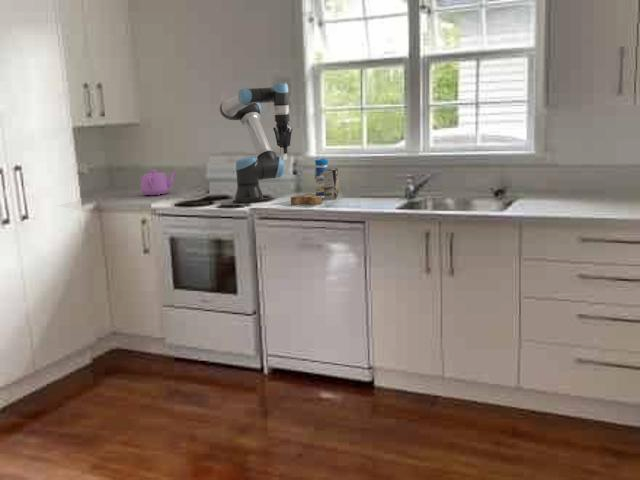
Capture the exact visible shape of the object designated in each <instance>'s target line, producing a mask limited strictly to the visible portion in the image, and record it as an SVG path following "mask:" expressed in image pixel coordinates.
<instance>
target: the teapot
mask: <svg viewBox="0 0 640 480" xmlns="http://www.w3.org/2000/svg"><path fill="white" fill-rule="evenodd" d="M176 172H178V170H174V171H171V173H170V176H169V179H168V177H167V174H166V173H165V172H161V171H160V172H157V169H151V170H150V172H149V173H148V172H147V173H144V174H143V176H142V179H141V183H140V192H141V193H142V195H144V196H147V195H151V196H154V195H156V196H160V195H159V194H162V195H163V194H164V195H165V194H168V193H169V192H170V189H171V187H172V186H173V183H174V177H175V173H176Z"/></svg>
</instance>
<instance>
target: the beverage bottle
mask: <svg viewBox="0 0 640 480" xmlns="http://www.w3.org/2000/svg"><path fill="white" fill-rule="evenodd" d="M314 162H315V166H316V167H315V169H314V182H315V183H314V184H315V194H316V196H322V197H324V174H323V171H324V170H325V169H329V167H328V165H329V161H328V158H316V159H315V161H314Z"/></svg>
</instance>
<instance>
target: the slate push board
mask: <svg viewBox="0 0 640 480" xmlns="http://www.w3.org/2000/svg"><path fill="white" fill-rule="evenodd" d="M332 204H333V202H329V201H324V200H322V205H317V206H313V205H305V204H302V205H291V200H288V201H282V202H276V203H275V205H280V206H286V207H287V206H288V207H294V208H303V209H311V208H315V207H316V208H317V207H321V206H325V205H332Z"/></svg>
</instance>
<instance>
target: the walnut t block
mask: <svg viewBox="0 0 640 480" xmlns="http://www.w3.org/2000/svg"><path fill="white" fill-rule="evenodd" d="M322 198H323V196H316V193H305V194H300V195H295V196H294V195H293V196H290V201H291V205H302V204H305V205H313V206H317V205H322V201H323V199H322ZM322 206H323V205H322ZM317 207H318V206H317Z"/></svg>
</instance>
